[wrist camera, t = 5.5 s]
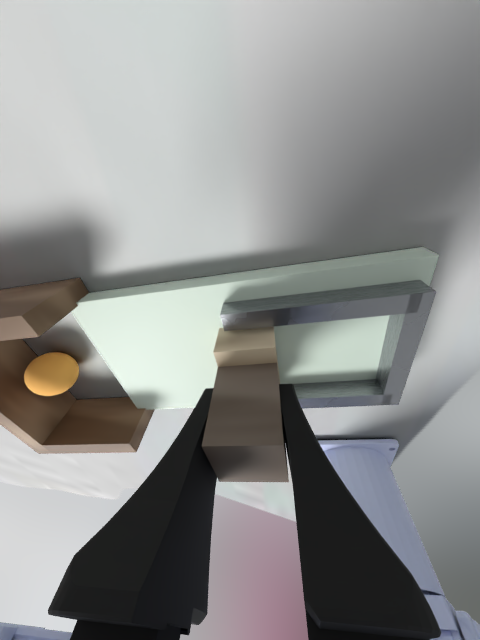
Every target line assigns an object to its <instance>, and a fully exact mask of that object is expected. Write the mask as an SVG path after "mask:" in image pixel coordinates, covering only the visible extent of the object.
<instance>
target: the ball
mask: <svg viewBox="0 0 480 640" xmlns="http://www.w3.org/2000/svg"><path fill="white" fill-rule="evenodd" d="M78 375H79V367H78V364H77V362H76V361H75V360H74V359H73V358H72V357H71V356H69V355H67V354H65V353H60V352H51V353H46V354H43V355H40V356H39V357H37V358H35V359H34V360H33V361H32V362H31V363H30V364H29V365H28V366H27V368H26V370H25V373H24V381H25V384H26V386H27V387H28V388H29V390H31V391H32V392H34V393H36V394H38V395H42V396H53V395H58V394H61V393H63V392H65V391H67V390H68V389H69V388H71V387H72V386H73V385H74V383H75V382H76V380H77V378H78Z"/></svg>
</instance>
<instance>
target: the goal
mask: <svg viewBox="0 0 480 640" xmlns="http://www.w3.org/2000/svg"><path fill="white" fill-rule="evenodd" d="M88 293H89V292H88V290H87V289H86V287H85V285H84V284H83V282H82V280H81V279H80V278H75V279H68V280H61V281H55V282H48V283H41V284H35V285H28V286H22V287H15V288H8V289H2V290H0V425H2V426H3V427H4V428H6V429H7V430H8V431H10V432H11V433H12V434H14V435H15V436H16V437H17V438H19V439H20V440H21V441H23V442H24V443H25V444H27V445H28V446H29V447H31V448H32V449H33V450H35V451H36V452H37V453H39V454H45V453H121V452H137V449H138V447H139V445H140V442H141V440H142V438H143V435H144V433H145V431H146V428H147V426H148V424H149V421H150V419H151V417H152V414H153V412H154V409H153V410H146V408H141V409H137V407H136V406H135V404H134V403H133V401H132V400H131V399H130V397H119V398H100V399H82V400H76V398H75V397H74V396H73V395H72V394H71V393H70V392H69V391H68V390H67V391H65V392H63V393H61V394H58V395H53V396H42V395H38V394H36V393H34V392H32V391H31V390H29V388H28V387H27V386H26V384H25V381H24V373H25V370H26V368H27V366H28V365H29V364H30V363H31V362H32V361H33V360H34V359H35V358H37V357H38V356H37V355H36V354H35V353H34V352H33V351H32V350H31V348H30V347H29V346H28V345H27V344H26V343H25V342H24V341H23V340H22V339H24V338H33V337H40V336H41V335H42V334H43V333H45V332H46V331H47V330H48V329H50V328H51V327H52V326H53V325H55V324H56V323H57V322H58V321H60V320H61V319H62V318H63V317H65V316H66V315H67V314H68V313H70V312H71V311H72V310H74V309H75V308H76V307H77V306H78V305H77V304H76V303H77V302H78V301H79V300H80V299H82V298H83V297H84V296H86V295H87V294H88Z"/></svg>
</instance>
